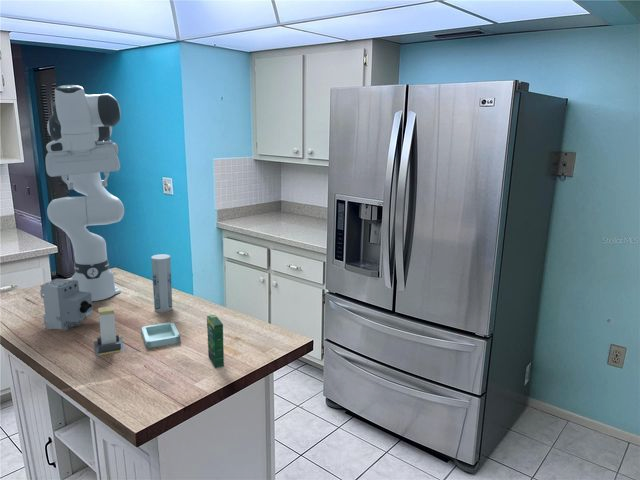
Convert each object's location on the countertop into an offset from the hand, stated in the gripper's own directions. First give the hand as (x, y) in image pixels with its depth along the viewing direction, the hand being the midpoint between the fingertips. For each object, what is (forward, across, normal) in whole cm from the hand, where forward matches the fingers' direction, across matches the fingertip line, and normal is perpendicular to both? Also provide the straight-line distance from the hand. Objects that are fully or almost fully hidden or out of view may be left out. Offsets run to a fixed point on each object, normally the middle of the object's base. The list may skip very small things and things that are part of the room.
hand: (88, 187), depth 145 cm
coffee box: (+46, -28, +40) cm, 67 cm away
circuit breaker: (+46, +13, +1) cm, 48 cm away
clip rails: (+45, +1, +21) cm, 50 cm away
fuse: (+44, +1, +21) cm, 49 cm away
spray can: (+49, -16, -5) cm, 52 cm away
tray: (+46, -14, +20) cm, 52 cm away
